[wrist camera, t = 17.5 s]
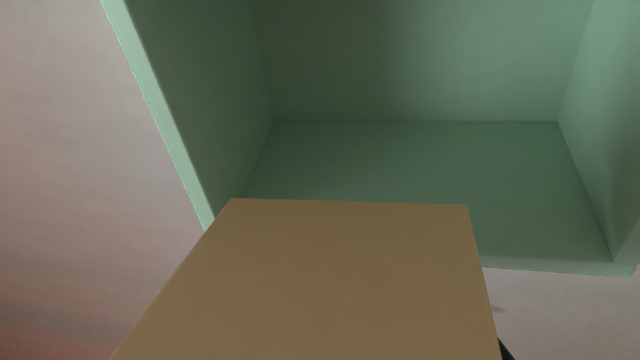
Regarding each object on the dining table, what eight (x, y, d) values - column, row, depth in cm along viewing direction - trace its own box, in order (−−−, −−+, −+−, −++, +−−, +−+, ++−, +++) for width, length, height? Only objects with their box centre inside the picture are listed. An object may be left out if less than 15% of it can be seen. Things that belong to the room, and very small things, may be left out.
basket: (165, -304, 10) (-78, -384, 5) (751, -435, 8) (1338, -818, 3) (267, 123, 19) (211, 249, 14) (566, 125, 16) (630, 278, 11)
